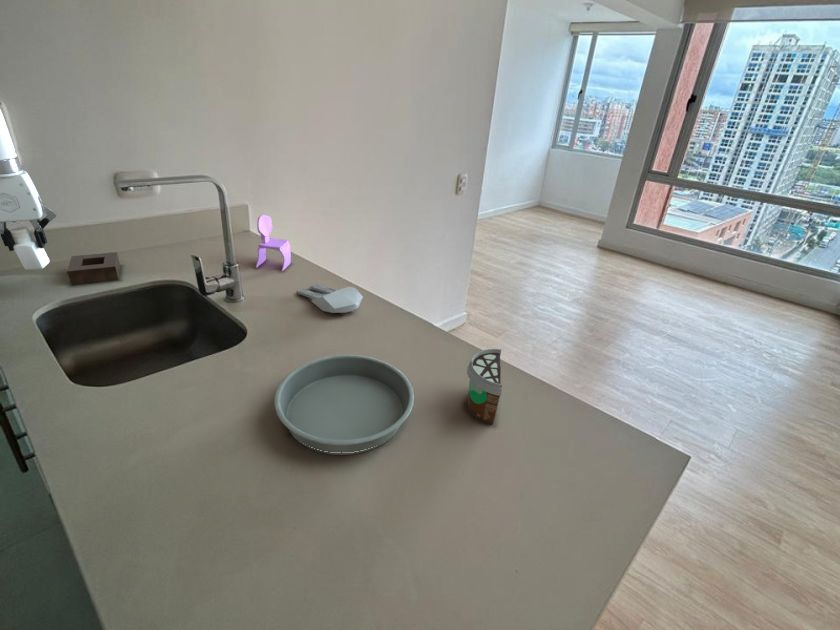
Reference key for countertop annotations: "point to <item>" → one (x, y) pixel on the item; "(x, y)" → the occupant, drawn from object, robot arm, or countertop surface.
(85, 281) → the holder
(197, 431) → the countertop surface
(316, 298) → the turret
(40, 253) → the pepper shaker
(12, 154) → the robot arm
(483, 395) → the food container
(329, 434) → the cake pan
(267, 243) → the toy chair
